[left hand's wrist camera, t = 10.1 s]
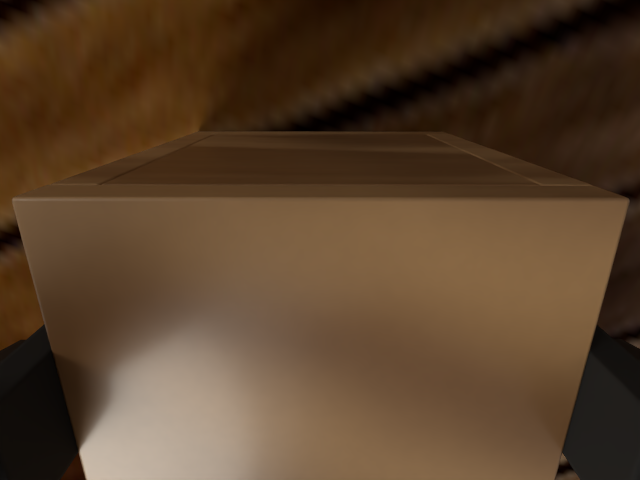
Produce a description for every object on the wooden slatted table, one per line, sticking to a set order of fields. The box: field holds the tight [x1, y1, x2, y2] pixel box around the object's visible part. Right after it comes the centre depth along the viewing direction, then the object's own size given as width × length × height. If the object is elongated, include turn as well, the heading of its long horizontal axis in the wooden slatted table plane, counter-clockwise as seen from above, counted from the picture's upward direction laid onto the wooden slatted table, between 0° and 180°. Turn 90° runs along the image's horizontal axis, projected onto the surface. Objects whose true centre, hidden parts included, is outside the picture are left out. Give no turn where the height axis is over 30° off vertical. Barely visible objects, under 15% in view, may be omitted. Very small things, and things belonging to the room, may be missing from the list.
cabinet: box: [12, 131, 629, 480], centre depth 16 cm, size 19×11×12 cm, turn 0°
